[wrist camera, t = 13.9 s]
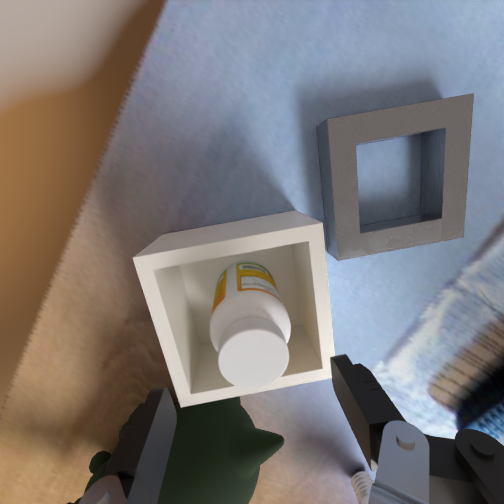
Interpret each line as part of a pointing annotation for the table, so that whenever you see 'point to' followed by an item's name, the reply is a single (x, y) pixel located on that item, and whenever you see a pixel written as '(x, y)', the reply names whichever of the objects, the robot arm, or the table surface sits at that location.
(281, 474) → the table surface
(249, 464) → the toy figurine
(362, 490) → the lightbulb
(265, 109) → the table surface
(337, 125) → the socket collar
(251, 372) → the supplement bottle
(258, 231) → the bin
